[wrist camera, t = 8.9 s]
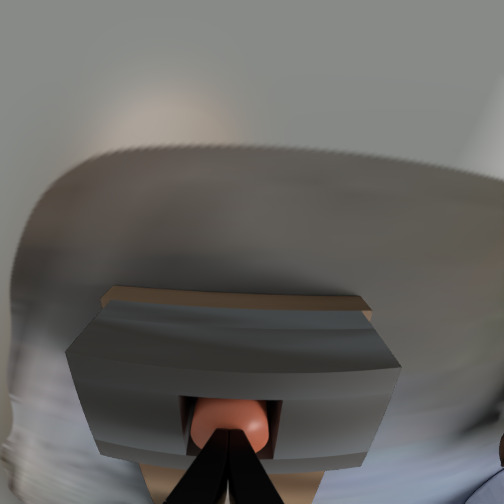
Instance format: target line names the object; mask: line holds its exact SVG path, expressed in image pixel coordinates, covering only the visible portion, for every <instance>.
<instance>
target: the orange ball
mask: <svg viewBox="0 0 504 504" xmlns="http://www.w3.org/2000/svg"><path fill="white" fill-rule="evenodd" d="M217 428H223V429H229V432H230V430H231V429H242V430H243V431H244V432H245V434H246V436H247V438H248V440H249V442H250V443H251V445H252V447H253V449H254V451H255V453H256V452H258V451H259V450H261V449H262V448H263V447H264V446H265V445H266V443H267V441H268V438H269V432H268V420H267V408H266V400H243V399H221V398H206V397H197V399H196V405H195V410H194V415H193V421H192V426H191V437H192V439H193V441H194V443H195V444H196V445H197V446H198V447H199V448H201V449H202V448H203V447H204V445H205V444H206V442H207V441H208V439H209V438H210V436H211V435H212V433H213V432H214V430H215V429H217Z"/></svg>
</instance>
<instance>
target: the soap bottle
mask: <svg viewBox="0 0 504 504" xmlns="http://www.w3.org/2000/svg"><path fill="white" fill-rule="evenodd" d="M465 504H504V470H502V471H501V472H499V473H498V474H496V475H495V476H493V477H492V478H491V479H490V480H488V481H487V482H486V483H484V484H483V485H482V486H481V487H480V488H479V489H477V490H476V491H475V492H474V493H473V494H472V495H471V496H470V498H469V499H468V500H467V501H466V503H465Z"/></svg>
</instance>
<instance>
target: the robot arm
mask: <svg viewBox="0 0 504 504" xmlns="http://www.w3.org/2000/svg"><path fill="white" fill-rule="evenodd" d="M227 490H228V494H229V502H230V504H285V503H284V501H283V500H282V498H281V496H280V495H279V493H278V491H277V490H276V488H275V486H274V485H273V483H272V481H271V479H270V478H269V476H268V474H267V472H266V471H265V469H264V467H263V465H262V464H261V462H260V460H259V458H258V456H257V454H256V453H255V451H254V449H253V447H252V445H251V443H250V442H249V440H248V438H247V436H246V434H245V432H244V431H243V430H242V429H231V430H230V432H229V429H223V428H217V429H215V430H214V432H213V433H212V435H211V436H210V438H209V439H208V441H207V442H206V444H205V445H204V447H203V448H202V449H201V451H200V452H199V454H198V455H197V457H196V458H195V459H194V461H193V462H192V464H191V465H190V467H189V468H188V469H187V471H186V472H185V474H184V475H183V476H182V478H181V479H180V480H179V482H178V483H177V485H176V486H175V487H174V489H173V490H172V491H171V493H170V494H169V495H168V497H167V498H166V500H165V501H164V502H163V503H162V504H225V502H226V496H227Z"/></svg>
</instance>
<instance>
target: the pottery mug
mask: <svg viewBox="0 0 504 504" xmlns="http://www.w3.org/2000/svg"><path fill="white" fill-rule="evenodd" d="M499 456H500V461H501V466H502V467H504V434H503V436H502V437H501V441H500V446H499Z"/></svg>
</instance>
